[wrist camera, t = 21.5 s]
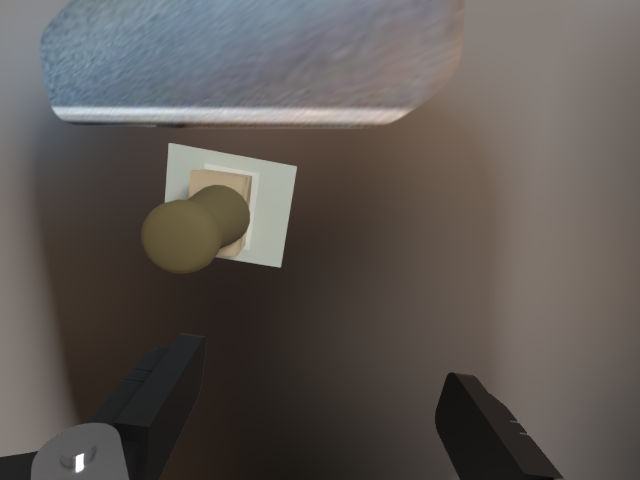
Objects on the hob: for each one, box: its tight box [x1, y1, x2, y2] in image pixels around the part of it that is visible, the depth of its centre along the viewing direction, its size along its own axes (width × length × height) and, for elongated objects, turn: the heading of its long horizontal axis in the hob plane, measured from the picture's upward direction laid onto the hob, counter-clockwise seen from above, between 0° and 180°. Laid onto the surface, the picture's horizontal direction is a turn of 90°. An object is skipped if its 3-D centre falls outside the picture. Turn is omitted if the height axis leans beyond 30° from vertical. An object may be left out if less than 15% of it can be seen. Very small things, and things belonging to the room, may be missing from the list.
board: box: [165, 143, 297, 267], centre depth 36 cm, size 12×14×1 cm
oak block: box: [189, 169, 252, 257], centre depth 34 cm, size 8×5×5 cm, turn 171°
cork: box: [141, 185, 250, 274], centre depth 26 cm, size 6×6×11 cm
